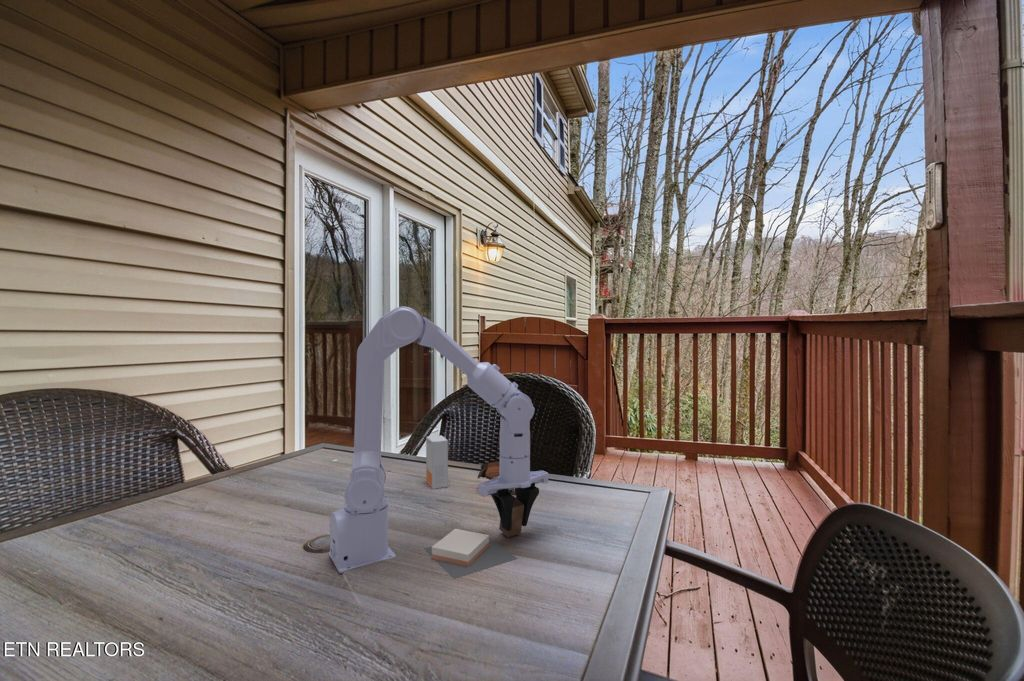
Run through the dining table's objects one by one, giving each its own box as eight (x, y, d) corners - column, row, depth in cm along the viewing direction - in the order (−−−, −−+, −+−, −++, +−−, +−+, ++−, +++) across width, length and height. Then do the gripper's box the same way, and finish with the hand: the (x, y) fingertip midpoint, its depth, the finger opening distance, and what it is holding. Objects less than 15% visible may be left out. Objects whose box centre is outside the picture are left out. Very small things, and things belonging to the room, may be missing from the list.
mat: (454, 582, 74) (454, 578, 74) (424, 551, 84) (424, 548, 84) (517, 561, 80) (517, 558, 80) (482, 535, 90) (482, 532, 90)
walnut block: (507, 537, 88) (511, 508, 87) (499, 528, 90) (502, 500, 89) (520, 533, 89) (524, 504, 88) (512, 525, 92) (515, 497, 91)
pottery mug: (471, 499, 111) (470, 464, 115) (488, 504, 119) (487, 471, 123) (518, 491, 108) (515, 456, 112) (532, 497, 116) (530, 464, 120)
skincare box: (425, 482, 122) (425, 436, 121) (441, 480, 124) (441, 434, 123) (431, 489, 116) (432, 441, 116) (448, 487, 118) (448, 439, 118)
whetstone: (431, 558, 80) (468, 566, 77) (431, 547, 80) (468, 554, 77) (455, 539, 88) (489, 546, 85) (455, 528, 87) (489, 535, 85)
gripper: (492, 465, 81) (492, 544, 81) (558, 453, 89) (558, 525, 89) (472, 456, 87) (472, 529, 87) (536, 445, 95) (535, 512, 95)
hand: (514, 526), depth 88 cm, fingers closed on walnut block, 3 cm apart
